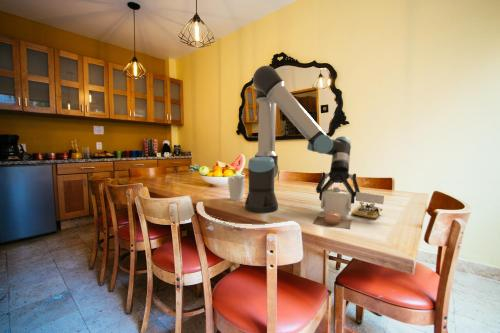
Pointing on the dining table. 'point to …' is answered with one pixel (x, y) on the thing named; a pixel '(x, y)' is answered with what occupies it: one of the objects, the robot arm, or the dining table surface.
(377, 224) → the dining table surface
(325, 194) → the pot with lid
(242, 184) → the cup
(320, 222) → the board
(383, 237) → the dining table surface
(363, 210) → the cake
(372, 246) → the dining table surface
